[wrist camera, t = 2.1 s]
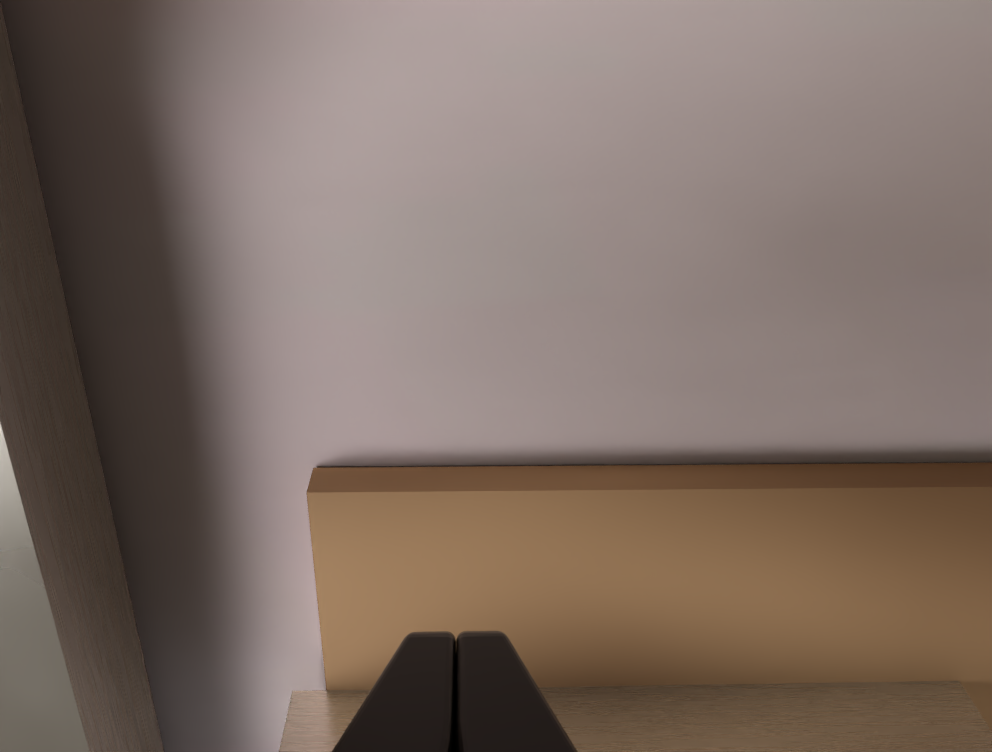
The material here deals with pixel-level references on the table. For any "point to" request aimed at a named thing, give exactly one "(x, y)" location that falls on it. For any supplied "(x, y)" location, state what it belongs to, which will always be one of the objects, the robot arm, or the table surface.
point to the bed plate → (664, 570)
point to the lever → (54, 501)
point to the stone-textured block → (717, 718)
